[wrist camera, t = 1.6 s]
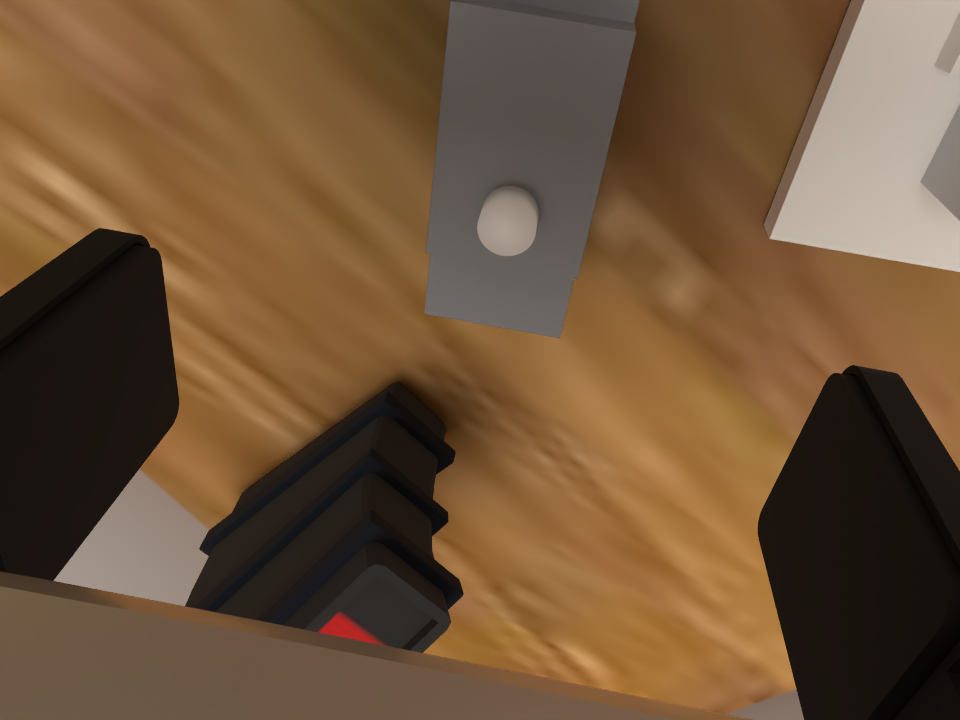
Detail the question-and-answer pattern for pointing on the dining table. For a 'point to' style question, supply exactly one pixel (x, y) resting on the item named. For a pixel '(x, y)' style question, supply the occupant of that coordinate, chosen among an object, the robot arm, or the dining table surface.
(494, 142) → the servo
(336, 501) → the black ridged block
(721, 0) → the dining table surface
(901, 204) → the cradle
